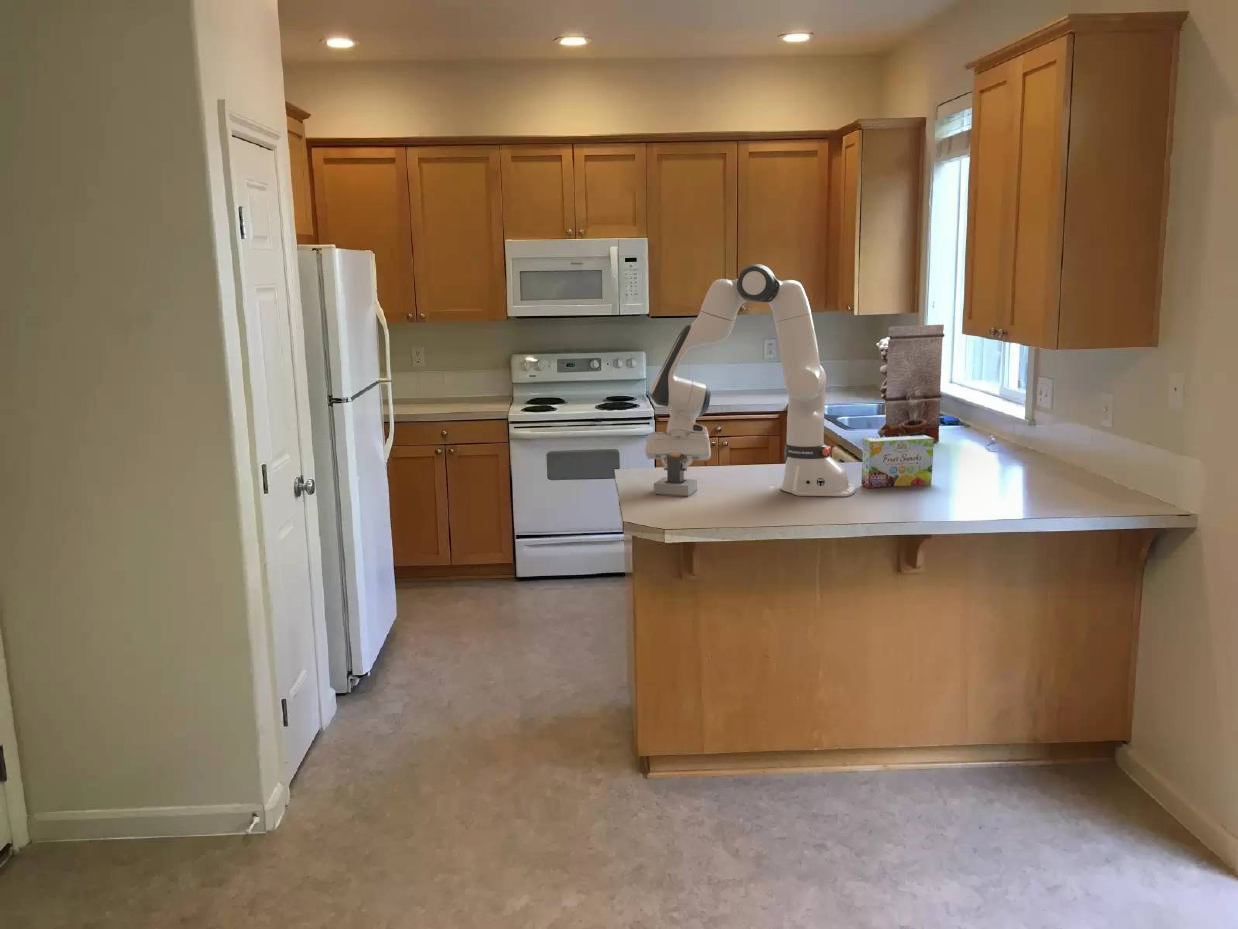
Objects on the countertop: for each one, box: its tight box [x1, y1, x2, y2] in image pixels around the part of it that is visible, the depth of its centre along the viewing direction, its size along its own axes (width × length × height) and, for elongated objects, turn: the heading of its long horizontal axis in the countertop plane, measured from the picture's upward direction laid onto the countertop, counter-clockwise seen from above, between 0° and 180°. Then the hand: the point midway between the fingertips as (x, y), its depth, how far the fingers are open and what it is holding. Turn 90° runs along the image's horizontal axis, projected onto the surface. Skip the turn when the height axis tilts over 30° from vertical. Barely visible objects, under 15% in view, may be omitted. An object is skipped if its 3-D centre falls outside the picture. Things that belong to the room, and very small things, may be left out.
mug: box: [885, 419, 927, 437], centre depth 324 cm, size 18×12×15 cm, turn 118°
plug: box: [666, 453, 685, 484], centre depth 289 cm, size 4×4×10 cm
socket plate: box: [653, 477, 698, 498], centre depth 290 cm, size 11×9×4 cm
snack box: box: [860, 435, 935, 489], centre depth 292 cm, size 21×6×15 cm, turn 101°
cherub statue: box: [876, 324, 945, 443], centre depth 363 cm, size 23×19×45 cm
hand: (675, 469), depth 288 cm, fingers closed on plug, 4 cm apart
